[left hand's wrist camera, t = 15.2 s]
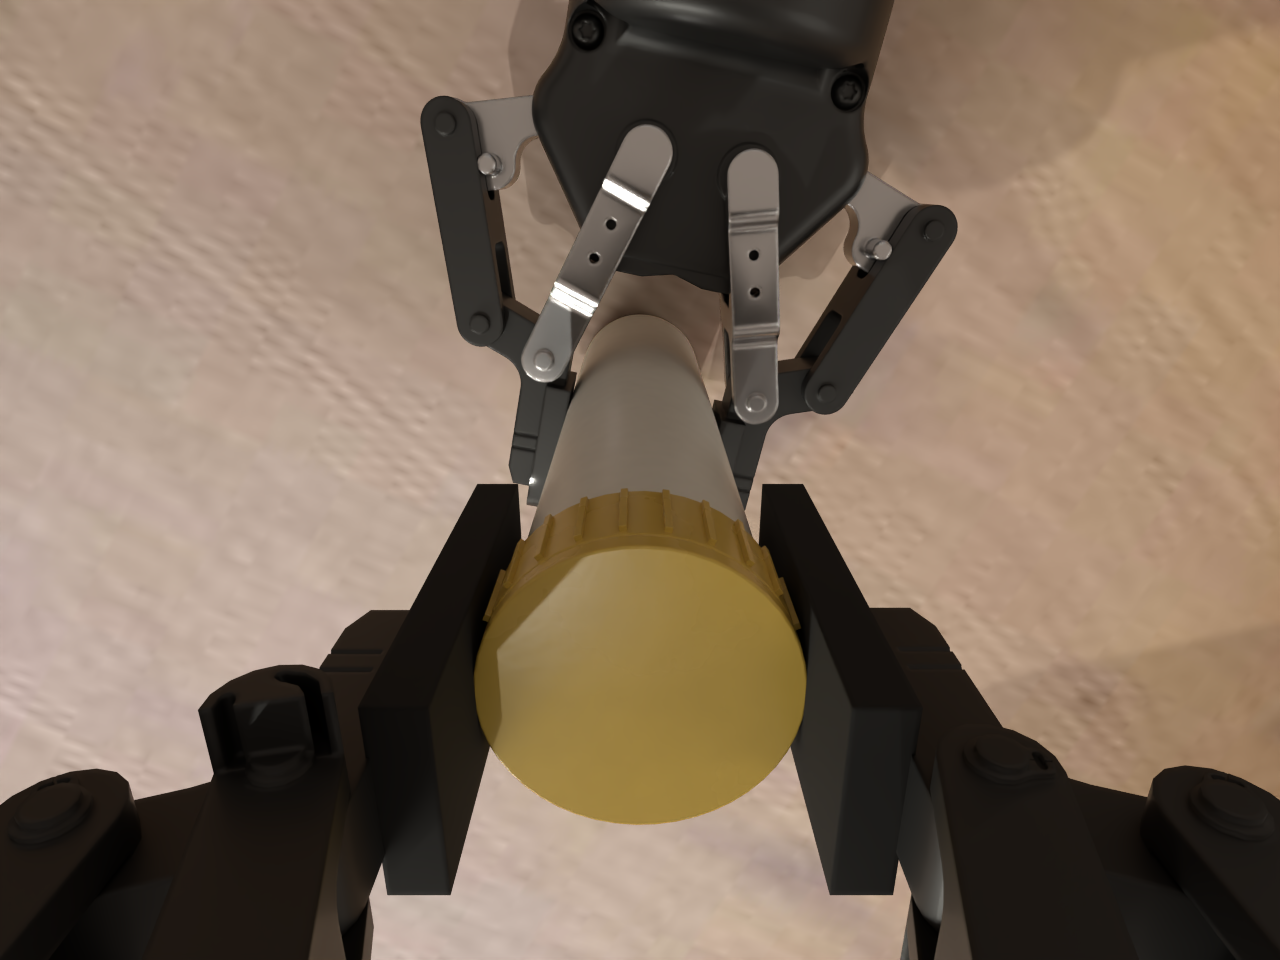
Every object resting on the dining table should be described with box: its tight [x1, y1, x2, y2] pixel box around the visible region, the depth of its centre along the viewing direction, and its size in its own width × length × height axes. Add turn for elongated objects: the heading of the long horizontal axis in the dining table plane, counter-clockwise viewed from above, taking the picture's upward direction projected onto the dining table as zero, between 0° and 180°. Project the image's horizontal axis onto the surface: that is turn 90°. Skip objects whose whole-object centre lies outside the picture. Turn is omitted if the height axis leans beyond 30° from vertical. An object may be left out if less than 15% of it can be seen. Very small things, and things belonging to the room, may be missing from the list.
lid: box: [474, 488, 807, 825], centre depth 11 cm, size 5×5×2 cm
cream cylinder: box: [528, 314, 753, 538], centre depth 20 cm, size 4×4×19 cm
